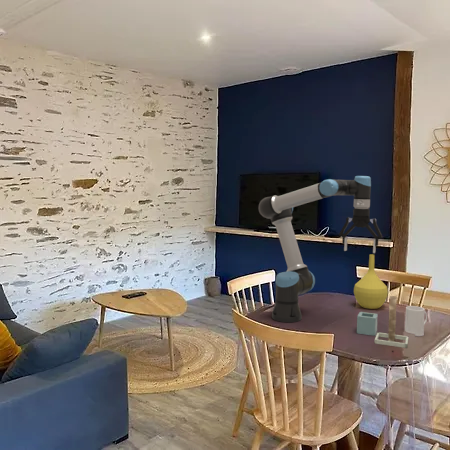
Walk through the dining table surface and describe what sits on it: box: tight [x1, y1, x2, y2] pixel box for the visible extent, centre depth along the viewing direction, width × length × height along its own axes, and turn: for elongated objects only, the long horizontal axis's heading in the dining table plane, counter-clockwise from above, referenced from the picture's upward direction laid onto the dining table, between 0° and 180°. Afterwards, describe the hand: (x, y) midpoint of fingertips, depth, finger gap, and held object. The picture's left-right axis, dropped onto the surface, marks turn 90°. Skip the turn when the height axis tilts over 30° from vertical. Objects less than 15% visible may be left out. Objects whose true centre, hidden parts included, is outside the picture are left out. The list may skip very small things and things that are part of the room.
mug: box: [404, 305, 428, 337], centre depth 214 cm, size 12×8×12 cm
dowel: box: [387, 295, 397, 342], centre depth 199 cm, size 3×3×20 cm
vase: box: [353, 253, 389, 310], centre depth 260 cm, size 18×18×30 cm
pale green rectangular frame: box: [374, 331, 409, 349], centre depth 200 cm, size 13×11×3 cm
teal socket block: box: [356, 311, 379, 337], centre depth 212 cm, size 8×8×9 cm
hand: (359, 251), depth 224 cm, fingers open, 13 cm apart
